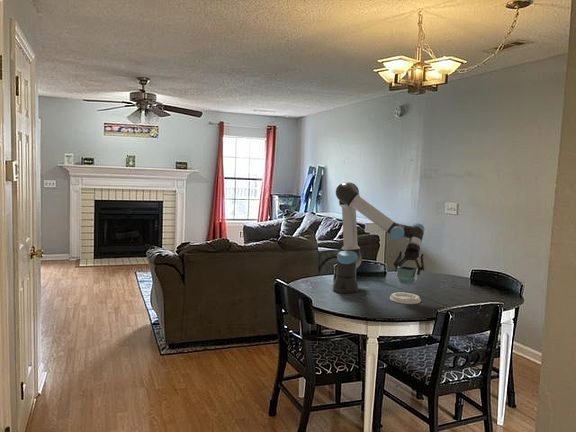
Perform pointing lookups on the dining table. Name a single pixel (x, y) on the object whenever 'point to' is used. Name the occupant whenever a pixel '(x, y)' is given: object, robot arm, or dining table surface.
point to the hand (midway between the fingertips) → (405, 278)
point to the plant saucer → (405, 298)
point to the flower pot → (406, 275)
